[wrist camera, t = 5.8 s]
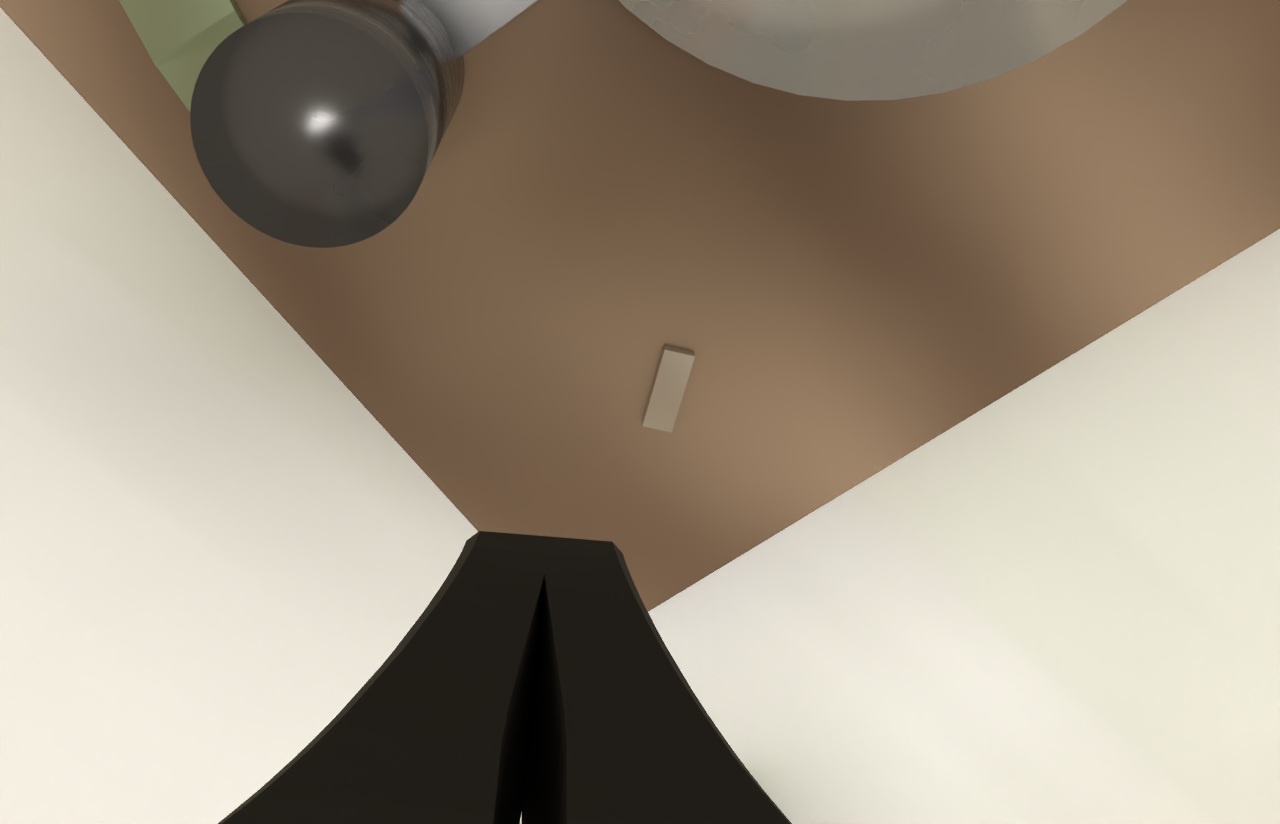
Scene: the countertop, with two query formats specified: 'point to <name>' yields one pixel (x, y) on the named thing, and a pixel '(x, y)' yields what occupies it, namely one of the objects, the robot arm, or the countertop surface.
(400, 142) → the dial
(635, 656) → the robot arm
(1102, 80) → the plate
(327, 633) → the countertop surface
